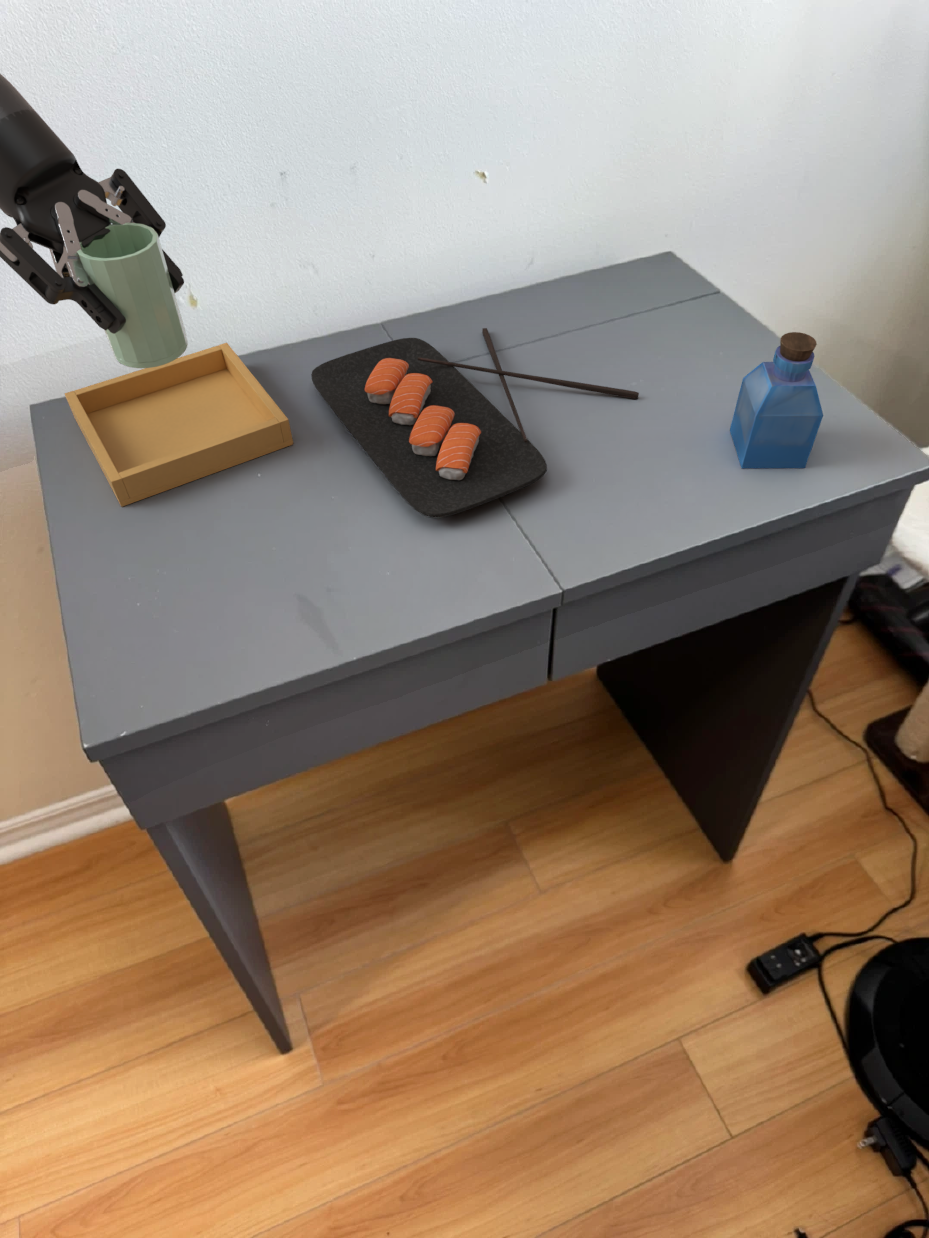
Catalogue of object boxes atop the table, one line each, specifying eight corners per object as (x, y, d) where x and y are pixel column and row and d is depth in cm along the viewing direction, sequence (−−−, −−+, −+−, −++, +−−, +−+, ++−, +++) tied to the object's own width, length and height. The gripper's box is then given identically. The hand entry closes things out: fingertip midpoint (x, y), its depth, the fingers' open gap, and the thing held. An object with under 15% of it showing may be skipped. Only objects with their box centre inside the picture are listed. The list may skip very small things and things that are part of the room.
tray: (121, 507, 84) (110, 482, 81) (74, 418, 93) (64, 393, 91) (293, 444, 90) (288, 419, 87) (232, 366, 99) (226, 342, 97)
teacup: (126, 376, 77) (87, 268, 69) (105, 342, 81) (66, 235, 73) (198, 354, 79) (167, 246, 71) (174, 321, 83) (143, 216, 75)
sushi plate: (303, 383, 97) (298, 353, 94) (532, 310, 106) (533, 280, 103) (426, 539, 80) (424, 507, 77) (684, 435, 89) (691, 403, 86)
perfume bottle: (805, 468, 86) (842, 360, 77) (741, 468, 86) (771, 360, 77) (790, 429, 90) (824, 323, 81) (729, 430, 90) (756, 323, 81)
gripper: (-67, 142, 64) (104, 327, 69) (76, 81, 72) (220, 249, 77) (-81, 201, 70) (78, 368, 75) (54, 138, 78) (189, 292, 83)
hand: (150, 307), depth 76 cm, fingers closed on teacup, 6 cm apart
